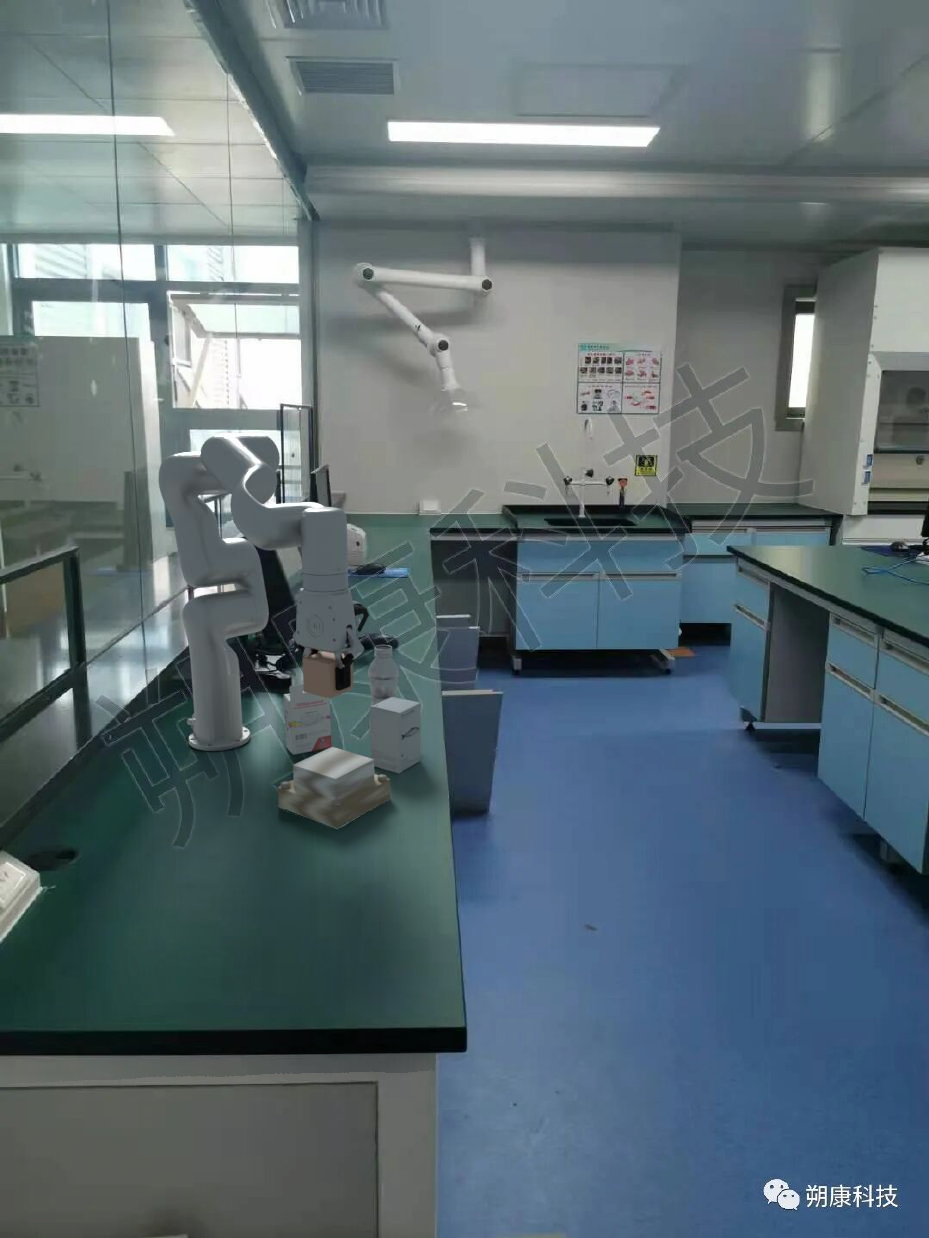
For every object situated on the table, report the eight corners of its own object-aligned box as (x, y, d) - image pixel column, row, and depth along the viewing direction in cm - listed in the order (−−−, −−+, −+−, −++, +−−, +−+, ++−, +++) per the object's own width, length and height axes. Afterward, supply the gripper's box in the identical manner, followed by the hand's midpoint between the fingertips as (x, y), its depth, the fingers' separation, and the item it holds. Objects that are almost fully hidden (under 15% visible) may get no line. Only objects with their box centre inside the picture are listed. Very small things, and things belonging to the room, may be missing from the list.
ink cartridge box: (324, 740, 178) (322, 674, 175) (332, 748, 174) (330, 680, 171) (285, 746, 174) (282, 679, 171) (291, 755, 170) (288, 686, 167)
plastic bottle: (395, 743, 177) (394, 652, 172) (365, 740, 178) (363, 650, 173) (403, 732, 183) (403, 644, 178) (374, 729, 184) (372, 642, 180)
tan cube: (303, 691, 143) (302, 658, 142) (327, 682, 148) (326, 650, 147) (329, 698, 140) (328, 664, 139) (353, 689, 145) (352, 655, 143)
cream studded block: (278, 808, 148) (276, 766, 146) (332, 780, 159) (331, 740, 157) (337, 830, 140) (336, 786, 138) (390, 799, 151) (389, 758, 149)
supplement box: (399, 774, 162) (399, 713, 159) (369, 765, 166) (368, 705, 163) (421, 761, 168) (421, 702, 165) (392, 753, 172) (391, 695, 169)
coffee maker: (319, 651, 243) (317, 591, 239) (340, 645, 250) (339, 586, 246) (358, 660, 235) (356, 598, 231) (378, 653, 242) (377, 592, 238)
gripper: (272, 579, 141) (277, 681, 146) (349, 592, 132) (351, 700, 136) (304, 572, 147) (308, 670, 152) (379, 584, 138) (381, 688, 142)
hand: (328, 683), depth 144 cm, fingers closed on tan cube, 6 cm apart
